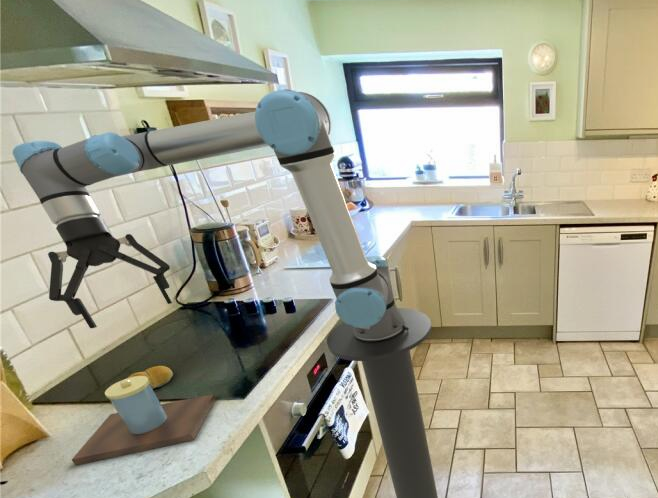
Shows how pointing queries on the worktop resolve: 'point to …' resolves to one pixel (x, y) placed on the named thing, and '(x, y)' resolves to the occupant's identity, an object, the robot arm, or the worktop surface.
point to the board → (119, 440)
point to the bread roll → (156, 375)
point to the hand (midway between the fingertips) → (133, 315)
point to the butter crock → (137, 404)
